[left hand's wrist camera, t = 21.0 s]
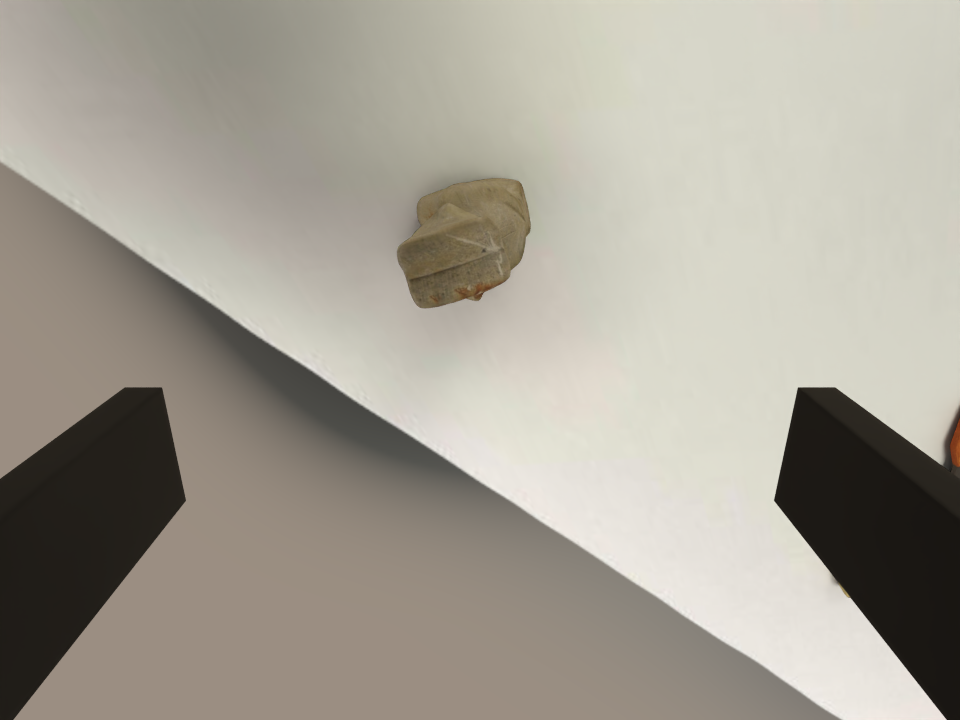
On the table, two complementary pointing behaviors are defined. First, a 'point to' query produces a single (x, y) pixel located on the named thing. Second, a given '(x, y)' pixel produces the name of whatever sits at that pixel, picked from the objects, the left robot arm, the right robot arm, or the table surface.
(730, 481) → the table surface
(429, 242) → the sculpture
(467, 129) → the table surface
